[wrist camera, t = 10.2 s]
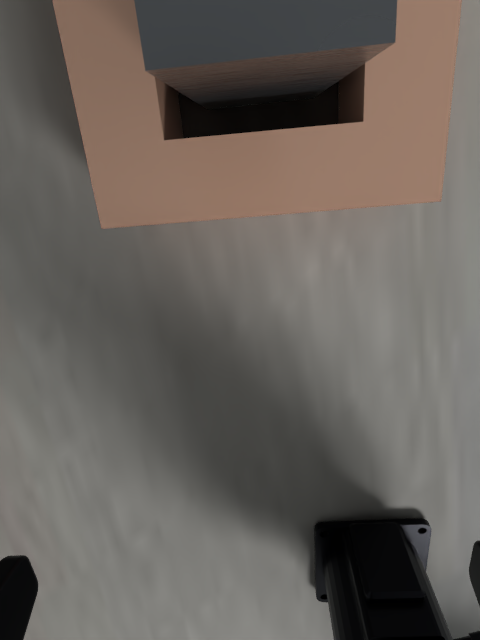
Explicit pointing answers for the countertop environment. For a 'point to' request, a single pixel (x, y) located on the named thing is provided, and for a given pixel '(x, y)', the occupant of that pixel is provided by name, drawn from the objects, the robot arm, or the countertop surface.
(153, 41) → the tall grey square pillar
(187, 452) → the countertop surface
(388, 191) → the orange square socket block
